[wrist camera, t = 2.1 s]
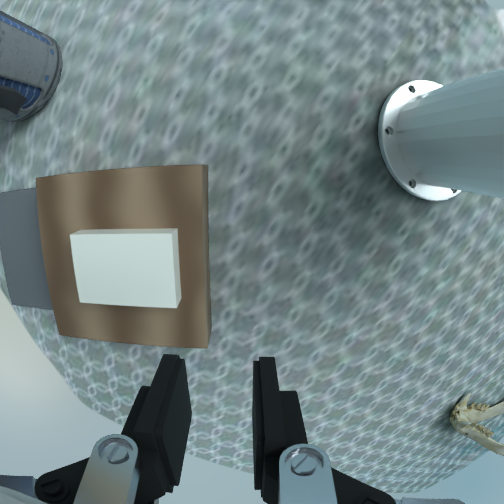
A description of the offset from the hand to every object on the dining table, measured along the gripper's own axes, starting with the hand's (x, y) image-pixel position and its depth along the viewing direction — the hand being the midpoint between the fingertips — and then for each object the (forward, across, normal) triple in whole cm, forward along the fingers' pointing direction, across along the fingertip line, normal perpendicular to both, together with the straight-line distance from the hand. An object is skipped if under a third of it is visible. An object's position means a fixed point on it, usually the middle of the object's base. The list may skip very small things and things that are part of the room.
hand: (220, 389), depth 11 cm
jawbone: (+20, -45, +27) cm, 56 cm away
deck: (+19, +10, 0) cm, 22 cm away
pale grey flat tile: (+15, +9, 0) cm, 18 cm away
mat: (+19, +24, 0) cm, 31 cm away
